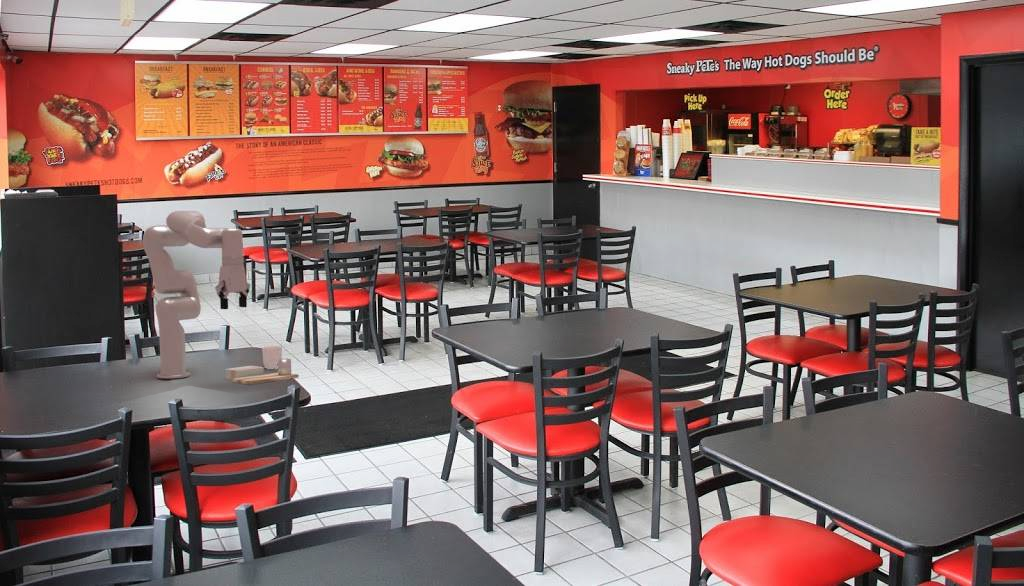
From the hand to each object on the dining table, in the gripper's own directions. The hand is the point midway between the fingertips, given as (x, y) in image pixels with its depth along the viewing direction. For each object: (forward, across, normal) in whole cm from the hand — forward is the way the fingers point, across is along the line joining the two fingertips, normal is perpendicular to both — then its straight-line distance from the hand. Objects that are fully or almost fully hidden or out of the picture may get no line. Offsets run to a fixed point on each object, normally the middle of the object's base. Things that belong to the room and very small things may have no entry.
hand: (233, 308), depth 362 cm
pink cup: (+29, -35, -13) cm, 48 cm away
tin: (+28, -22, +5) cm, 36 cm away
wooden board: (+29, -15, +1) cm, 33 cm away
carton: (+29, -16, -10) cm, 35 cm away
